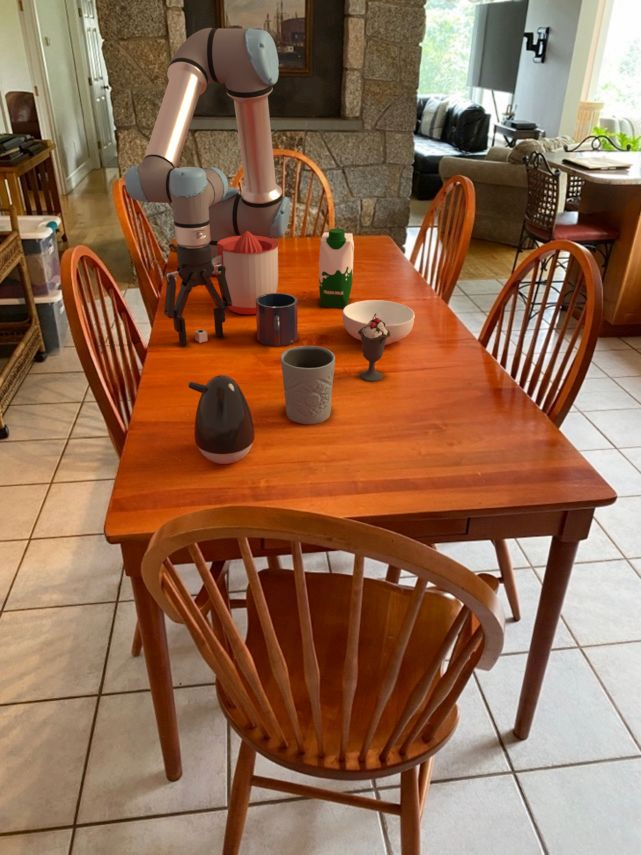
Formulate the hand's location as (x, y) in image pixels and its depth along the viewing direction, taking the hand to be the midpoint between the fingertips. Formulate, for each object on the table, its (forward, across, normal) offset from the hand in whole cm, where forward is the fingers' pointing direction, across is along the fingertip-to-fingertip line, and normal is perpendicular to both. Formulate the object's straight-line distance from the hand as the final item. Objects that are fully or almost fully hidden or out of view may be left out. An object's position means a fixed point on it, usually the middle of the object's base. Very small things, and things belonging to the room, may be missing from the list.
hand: (201, 339), depth 157 cm
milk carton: (0, +41, +4) cm, 41 cm away
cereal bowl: (0, +36, -21) cm, 42 cm away
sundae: (0, +23, -36) cm, 43 cm away
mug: (0, +15, -9) cm, 18 cm away
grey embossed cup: (0, +3, -42) cm, 42 cm away
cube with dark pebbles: (0, 0, 0) cm, 0 cm away
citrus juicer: (0, +19, +13) cm, 23 cm away
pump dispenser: (0, -17, -47) cm, 50 cm away
